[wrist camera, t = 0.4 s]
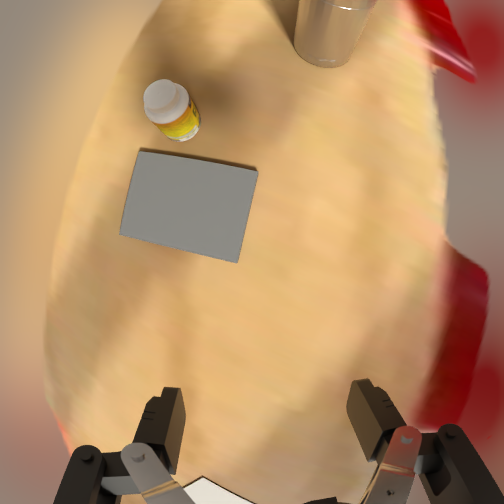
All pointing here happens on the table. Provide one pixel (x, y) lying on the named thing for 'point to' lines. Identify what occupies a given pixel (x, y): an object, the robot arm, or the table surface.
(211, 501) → the paper stack
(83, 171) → the table surface
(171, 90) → the supplement bottle
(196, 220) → the mat
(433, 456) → the robot arm
